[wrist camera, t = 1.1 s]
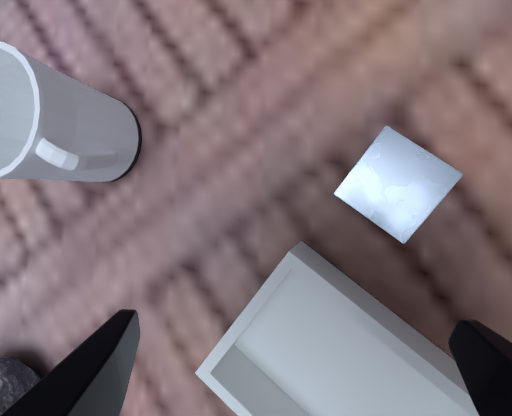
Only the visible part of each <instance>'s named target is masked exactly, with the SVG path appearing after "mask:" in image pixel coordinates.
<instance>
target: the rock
mask: <svg viewBox="0 0 512 416" xmlns="http://www.w3.org/2000/svg"><path fill="white" fill-rule="evenodd" d="M40 380H41V379H40V377H39V376H38V375H37V374H36V373H35V372H34V371H33V370H32V369H30V368H29V367H27V366H26V365H25V364H24V363H23V362H22V361H20V360H19V359H18V358H17V357H1V358H0V415H1V414H2V413H3V412H5V411H6V410H7V409H8V408H9V407H10V406H11V405H12V404H14V403H15V402H16V401H17V400H18V399H19V398H20V397H22V396H23V395H24V394H25V393H26V392H27V391H28V390H29V389H31V388H32V387H33V386H34V385H35V384H36V383H37V382H39V381H40Z"/></svg>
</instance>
